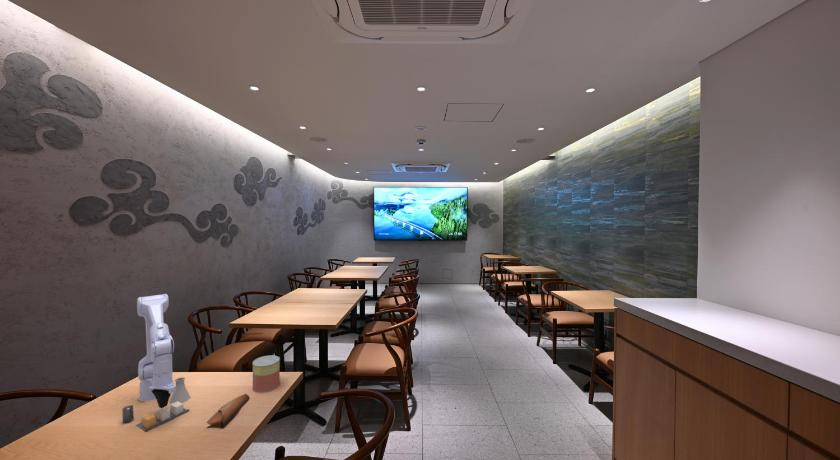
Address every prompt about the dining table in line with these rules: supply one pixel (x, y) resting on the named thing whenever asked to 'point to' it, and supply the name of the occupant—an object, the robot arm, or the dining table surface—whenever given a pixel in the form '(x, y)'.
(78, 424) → the dining table surface
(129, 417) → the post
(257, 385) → the canned food
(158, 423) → the panel
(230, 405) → the brown tapered rod
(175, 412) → the toggle near
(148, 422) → the toggle orange
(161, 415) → the toggle mid
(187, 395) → the flask
